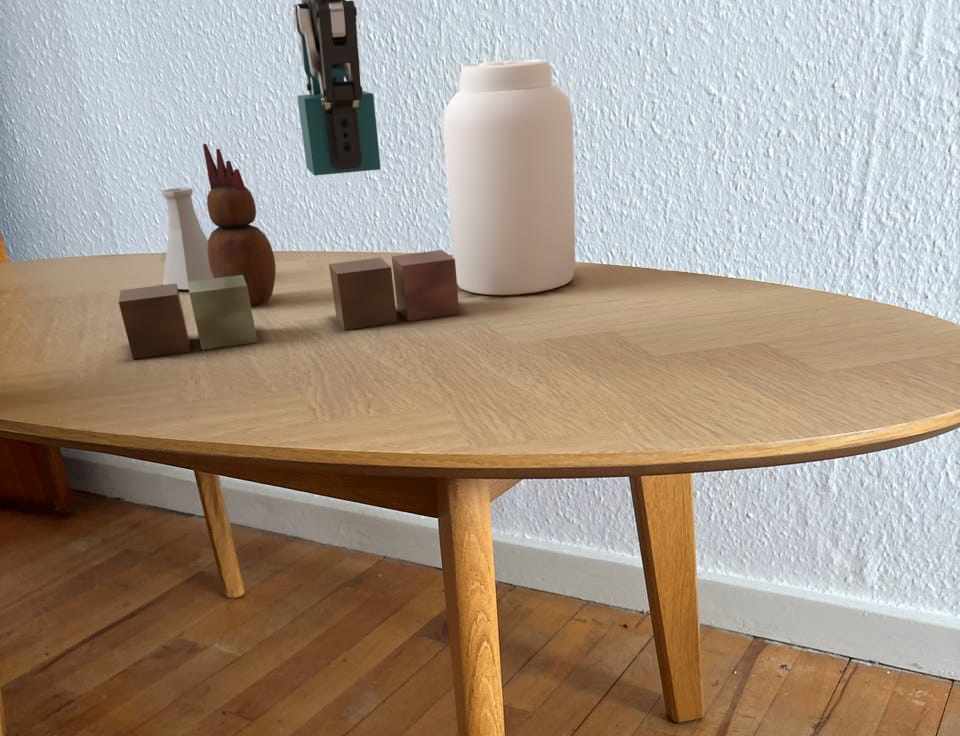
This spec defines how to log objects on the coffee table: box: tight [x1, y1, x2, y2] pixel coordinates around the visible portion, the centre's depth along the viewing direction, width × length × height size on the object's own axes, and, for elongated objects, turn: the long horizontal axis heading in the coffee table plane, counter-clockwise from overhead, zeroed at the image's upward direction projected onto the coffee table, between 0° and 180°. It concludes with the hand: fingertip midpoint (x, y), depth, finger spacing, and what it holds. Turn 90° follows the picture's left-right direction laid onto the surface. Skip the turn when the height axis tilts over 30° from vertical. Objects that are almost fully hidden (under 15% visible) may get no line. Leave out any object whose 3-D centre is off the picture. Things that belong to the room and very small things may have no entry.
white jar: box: [442, 59, 576, 296], centre depth 98 cm, size 12×12×20 cm
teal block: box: [296, 90, 382, 176], centre depth 74 cm, size 5×5×5 cm
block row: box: [118, 249, 460, 360], centre depth 92 cm, size 30×5×5 cm, turn 106°
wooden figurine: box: [202, 143, 277, 307], centre depth 100 cm, size 7×6×15 cm
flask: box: [160, 187, 214, 290], centre depth 111 cm, size 7×7×10 cm
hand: (341, 163), depth 75 cm, fingers closed on teal block, 5 cm apart
